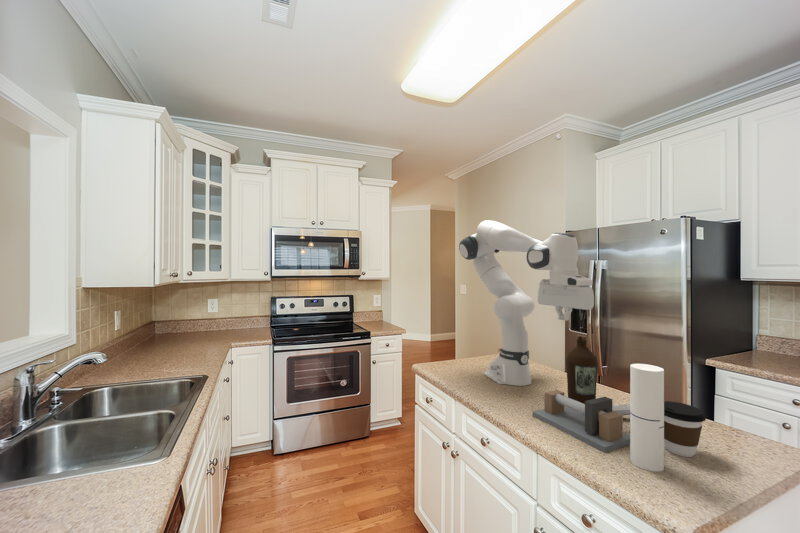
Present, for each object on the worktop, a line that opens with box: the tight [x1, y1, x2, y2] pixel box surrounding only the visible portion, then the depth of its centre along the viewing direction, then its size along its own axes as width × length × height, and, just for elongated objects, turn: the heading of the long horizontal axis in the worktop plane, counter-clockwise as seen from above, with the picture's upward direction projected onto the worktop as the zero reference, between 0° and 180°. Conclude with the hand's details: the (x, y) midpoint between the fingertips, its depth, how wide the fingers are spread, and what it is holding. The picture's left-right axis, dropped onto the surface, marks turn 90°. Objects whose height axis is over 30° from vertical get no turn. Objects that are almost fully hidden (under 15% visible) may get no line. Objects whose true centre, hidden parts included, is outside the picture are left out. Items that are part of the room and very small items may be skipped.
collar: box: [585, 396, 613, 435], centre depth 104 cm, size 2×9×9 cm, turn 115°
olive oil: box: [565, 334, 598, 404], centre depth 132 cm, size 11×11×25 cm
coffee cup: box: [664, 400, 707, 458], centre depth 96 cm, size 11×11×12 cm
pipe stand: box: [532, 389, 630, 453], centre depth 110 cm, size 26×14×8 cm, turn 25°
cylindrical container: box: [629, 363, 665, 473], centre depth 90 cm, size 7×7×25 cm
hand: (563, 320), depth 118 cm, fingers closed
